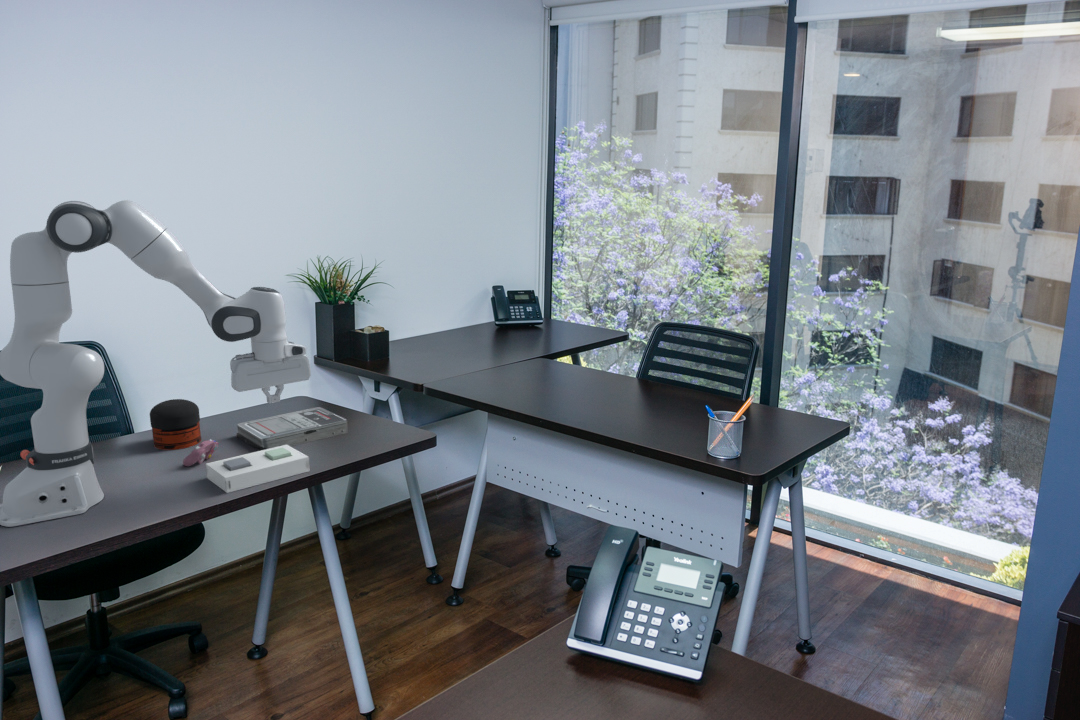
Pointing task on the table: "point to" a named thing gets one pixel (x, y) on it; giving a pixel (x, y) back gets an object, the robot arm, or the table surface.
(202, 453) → the video game controller
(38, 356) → the robot arm
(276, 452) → the sage key
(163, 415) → the oil filter
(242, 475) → the key panel
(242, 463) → the grey key
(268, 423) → the hard drive
